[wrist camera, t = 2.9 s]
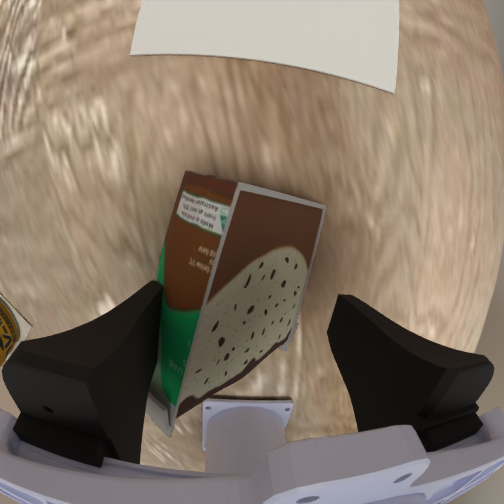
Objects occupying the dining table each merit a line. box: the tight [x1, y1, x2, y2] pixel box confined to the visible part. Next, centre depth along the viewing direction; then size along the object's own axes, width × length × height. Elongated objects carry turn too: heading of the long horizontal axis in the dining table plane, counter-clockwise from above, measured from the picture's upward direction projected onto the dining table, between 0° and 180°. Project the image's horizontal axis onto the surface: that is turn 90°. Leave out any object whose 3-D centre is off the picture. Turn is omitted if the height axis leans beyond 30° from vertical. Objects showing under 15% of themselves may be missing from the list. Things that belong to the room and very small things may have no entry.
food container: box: [146, 171, 327, 437], centre depth 15 cm, size 12×6×10 cm
